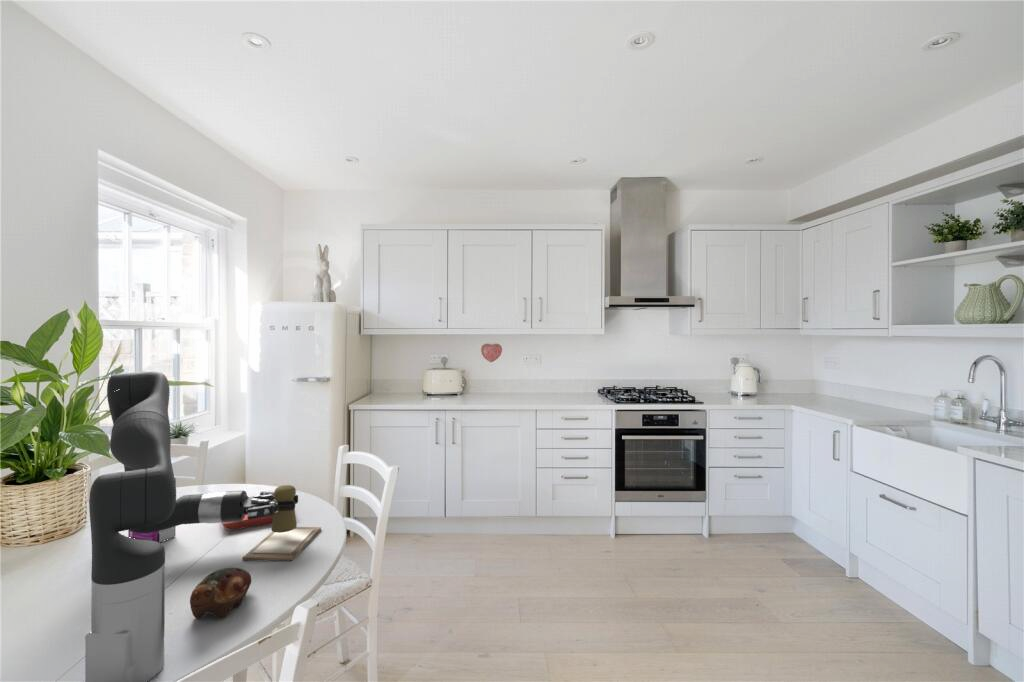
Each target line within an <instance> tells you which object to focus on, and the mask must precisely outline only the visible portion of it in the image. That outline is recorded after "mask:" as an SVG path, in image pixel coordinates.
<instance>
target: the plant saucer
mask: <svg viewBox="0 0 1024 682" xmlns="http://www.w3.org/2000/svg"><path fill="white" fill-rule="evenodd" d="M264 511H265V510H264ZM273 516H274V515H272V516H266V517H261V518H255V519H248V515H245V517H244V519H243V520H242V521H237V522H223V523H221V524H222V525H223V526H224V528H226V529H227V530H229V531H234V530H240V528H241V529H244V528H245V529H246V528H250V527H255V526H256V525H257V526H260V525H261V524H262V525H266V523H267V524H272V522H273ZM262 525H261V526H262Z"/></svg>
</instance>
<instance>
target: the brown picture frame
mask: <svg viewBox="0 0 1024 682" xmlns="http://www.w3.org/2000/svg"><path fill="white" fill-rule="evenodd" d="M321 530H322V527H321V526H296V528H295V529H293V530H291V531H288V532H281V533H278V532H273V531H271V533H269V534H268V535H267V536H266V537H264V538H263V539H262V540H261V541H260V542H259V543H257V544H256V545H255V546H253V548H252V549H250V551H248V552H246V554H245V555H243V557H242V561H243V560H292V559H293V558H294V557H295V556H296V555H297V554H298V553H299V552H300V551H301V550H302V549H303V548H304V549H305V547H306V546H307V545H308V544H309V543H310V542H311V541H312V540H313V539H314V538H315V537H316V536H317V535H318V534H319V533H318V532H321ZM317 533H318V534H317ZM316 534H317V535H316ZM315 535H316V536H315ZM314 536H315V537H314ZM313 537H314V538H313ZM312 538H313V539H312ZM311 539H312V540H311ZM310 540H311V541H310ZM309 541H310V542H309ZM308 542H309V543H308ZM307 543H308V544H307ZM306 544H307V545H306ZM305 545H306V546H305ZM304 546H305V547H304ZM304 549H303V550H304ZM303 550H302V551H303ZM302 551H301V552H302ZM301 552H300V553H301ZM300 553H299V554H300ZM299 554H298V555H299ZM298 555H297V556H298ZM297 556H296V557H297ZM296 557H295V558H296ZM295 558H294V559H295ZM294 559H293V560H294ZM293 560H292V561H293Z"/></svg>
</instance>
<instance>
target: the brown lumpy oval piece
mask: <svg viewBox="0 0 1024 682" xmlns="http://www.w3.org/2000/svg"><path fill="white" fill-rule="evenodd" d="M251 584H252V575H251V573H250V571H247V570H245V569H244V568H240V567H235V566H234V567H224V568H220V569H217V570H214V571H212V572H210V573H209V574H208V575H206V576H205V577H204V578H202V580H200V581H199V582H198V584H197V585H196V586H195V587H194V588H193V590H192V592H191V594H190V599H189V605H190V611H191V613H192V616H193V617H194V618H195V619H196V620H197V619H200V618H203V617H204V616H205V615H206V614H207V613H210V614H211V615H212V616H214V617H215V618H216V619H218V620H223V619H225V618H226V617H227V616H228V614H229V613H230V611H231V610H232V608H233V607H235V608H238V607H240V606H241V605H242V603H243V602H244V600H245V598H246V595H247V593H248V591H249V588H250V586H251Z"/></svg>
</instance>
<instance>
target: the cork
mask: <svg viewBox="0 0 1024 682" xmlns="http://www.w3.org/2000/svg"><path fill="white" fill-rule="evenodd" d="M273 492H274V497H275V499H276V502H285V501H294V499H293V498H294V496H295V495H297V494H296V493H297V490H296V488H295V486H294V485H290V484H285V485H283V484H282V485H280V486H277V487H276V488H275V490H274V491H273ZM295 509H296V508H295ZM295 509H294V510H286V511H279V512H277V513H274V516H273V522H272V523H271V529H270V530H271V532H278V533H281V532H288V531H291V530H293V529H295V528H296V527H298V525H297V518H296V510H295Z"/></svg>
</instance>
